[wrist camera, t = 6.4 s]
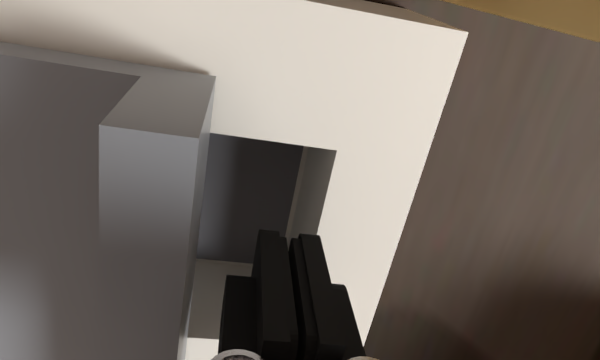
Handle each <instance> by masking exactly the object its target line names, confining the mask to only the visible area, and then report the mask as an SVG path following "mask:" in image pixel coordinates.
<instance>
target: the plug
mask: <svg viewBox="0 0 600 360" xmlns="http://www.w3.org/2000/svg"><path fill="white" fill-rule="evenodd" d="M442 1H445V2H449V3H453V4H457V5H460V6H464V7H468V8H472V9H475V10H479V11H483V12H487V13H491V14H494V15H498V16H502V17H506V18H509V19H513V20H517V21H521V22H524V23H528V24H532V25H536V26H539V27H543V28H547V29H551V30H555V31H558V32H562V33H566V34H570V35H573V36H577V37H581V38H585V39H588V40H592V41H596V42H600V0H442Z"/></svg>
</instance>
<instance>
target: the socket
mask: <svg viewBox="0 0 600 360" xmlns="http://www.w3.org/2000/svg"><path fill="white" fill-rule="evenodd" d="M468 33H469V32H466V31H464V30H461V29H459V28H456V27H453V26H451V25H448V24H445V23H443V22H440V21H437V20H435V19H432V18H429V17H427V16H424V15H421V14H419V13H416V12H414V11H411V10H408V9H405V8H400V7H395V6H390V5H385V4H380V3H375V2H370V1H365V0H0V42H6V43H12V44H19V45H25V46H31V47H37V48H43V49H50V50H56V51H62V52H68V53H74V54H81V55H87V56H93V57H99V58H105V59H112V60H118V61H124V62H130V63H136V64H143V65H149V66H155V67H161V68H167V69H174V70H180V71H186V72H192V73H198V74H205V75H211V76H216V82H215V91H214V100H213V109H212V119H211V128H210V137H209V146H208V155H207V164H206V173H205V182H204V191H203V200H202V209H201V218H200V227H199V236H198V246H197V255H196V264H195V273H194V282H193V291H192V300H191V309H190V318H189V327H188V336H187V345H186V354H185V360H211V359H212V358H213V357H214V356H216V355H218V344H219V332H220V321H221V312H222V303H223V296H224V288H225V281H226V275H236V276H248V277H251V273H252V267H253V261H254V255H255V249H256V243H257V237H258V232H259V229H262V230H272V231H279V233H280V237H286V238H287V246H288V251H289V246H290V241H291V238H298V236H299V234H300V233H302V234H312V235H319V236H320V238H321V242H322V246H323V250H324V254H325V258H326V262H327V267H328V271H329V275H330V279H331V283H332V284H344V285H345V286H346V289H347V291H348V295H349V298H350V302H351V305H352V309H353V313H354V316H355V320H356V323H357V327H358V330H359V334H360V337H361V341H362V344H363V347H364V344H365V341H366V338H367V335H368V332H369V329H370V326H371V323H372V320H373V317H374V314H375V311H376V308H377V305H378V302H379V299H380V296H381V293H382V290H383V287H384V284H385V281H386V278H387V275H388V272H389V269H390V266H391V263H392V260H393V257H394V254H395V251H396V248H397V245H398V242H399V239H400V236H401V233H402V230H403V227H404V224H405V221H406V218H407V215H408V212H409V209H410V206H411V203H412V200H413V197H414V194H415V191H416V188H417V185H418V182H419V179H420V176H421V173H422V170H423V167H424V164H425V161H426V158H427V155H428V152H429V149H430V146H431V143H432V140H433V137H434V134H435V131H436V128H437V125H438V122H439V119H440V116H441V113H442V110H443V107H444V104H445V101H446V99H447V96H448V93H449V90H450V87H451V84H452V81H453V78H454V75H455V72H456V69H457V66H458V63H459V60H460V57H461V54H462V51H463V48H464V45H465V42H466V39H467V36H468Z"/></svg>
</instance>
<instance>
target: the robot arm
mask: <svg viewBox="0 0 600 360" xmlns="http://www.w3.org/2000/svg"><path fill="white" fill-rule="evenodd" d="M211 360H378V359H374V358H371V357H366V355H365V351H364V348H363V344H362V341H361V337H360V334H359V330H358V327H357V323H356V320H355V316H354V313H353V309H352V305H351V302H350V298H349V295H348V291H347V289H346V286H345V285H344V284H332V283H331V279H330V275H329V271H328V267H327V262H326V258H325V254H324V250H323V246H322V242H321V238H320V236H319V235H312V234H302V233H300V234H299V236H298V238H291V241H290V246H289V251H288V246H287V238H286V237H280V233H279V231H272V230H262V229H259V232H258V237H257V243H256V249H255V255H254V261H253V267H252V273H251V277H248V276H236V275H226V281H225V288H224V296H223V303H222V312H221V321H220V332H219V344H218V355H216V356H214V357H213V358H212V359H211Z"/></svg>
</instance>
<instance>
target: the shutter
mask: <svg viewBox="0 0 600 360" xmlns="http://www.w3.org/2000/svg"><path fill="white" fill-rule="evenodd" d="M215 82H216V76H211V75H205V74H198V73H192V72H186V71H180V70H174V69H167V68H161V67H155V66H149V65H143V64H136V63H130V62H124V61H118V60H112V59H105V58H99V57H93V56H87V55H81V54H74V53H68V52H62V51H56V50H50V49H43V48H37V47H31V46H25V45H19V44H12V43H6V42H0V360H185V354H186V345H187V336H188V327H189V318H190V309H191V300H192V291H193V282H194V273H195V264H196V255H197V246H198V236H199V227H200V218H201V209H202V200H203V191H204V182H205V173H206V164H207V155H208V146H209V137H210V128H211V119H212V109H213V100H214V91H215Z"/></svg>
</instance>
